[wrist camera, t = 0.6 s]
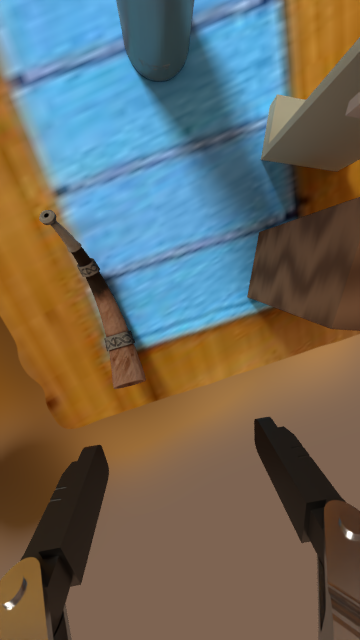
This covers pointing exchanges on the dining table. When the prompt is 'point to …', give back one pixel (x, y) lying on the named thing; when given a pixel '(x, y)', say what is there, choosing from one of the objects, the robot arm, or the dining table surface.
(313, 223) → the cabinet
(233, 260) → the dining table surface
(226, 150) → the dining table surface
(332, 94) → the white angled bracket
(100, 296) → the drinking horn
